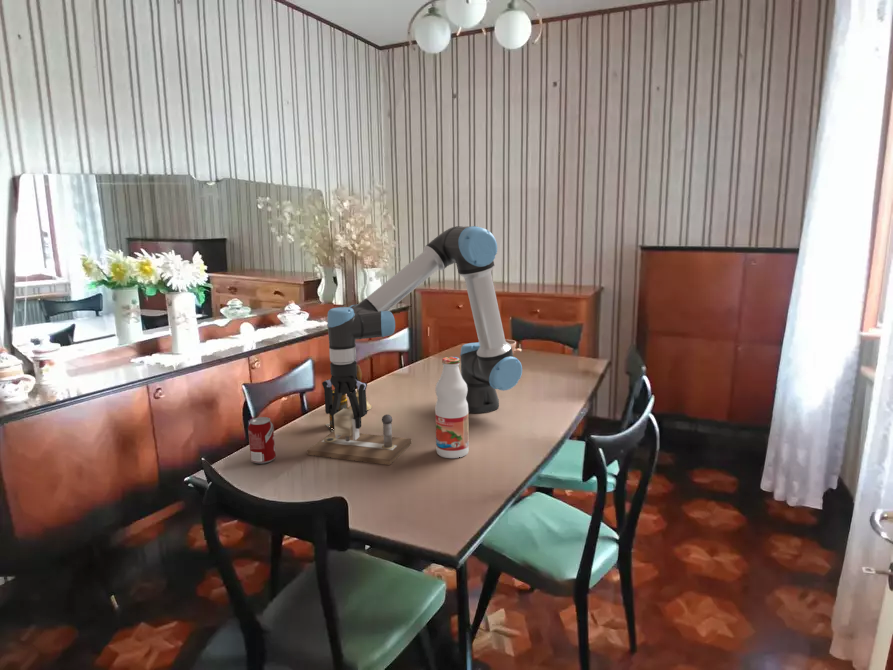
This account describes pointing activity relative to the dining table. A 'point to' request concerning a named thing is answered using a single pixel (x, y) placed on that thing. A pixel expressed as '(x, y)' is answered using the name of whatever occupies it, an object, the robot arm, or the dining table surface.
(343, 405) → the condiment
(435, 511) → the dining table surface
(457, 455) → the fruit juice
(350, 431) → the leg
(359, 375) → the hand bell
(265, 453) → the soda can
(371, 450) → the hole plate
